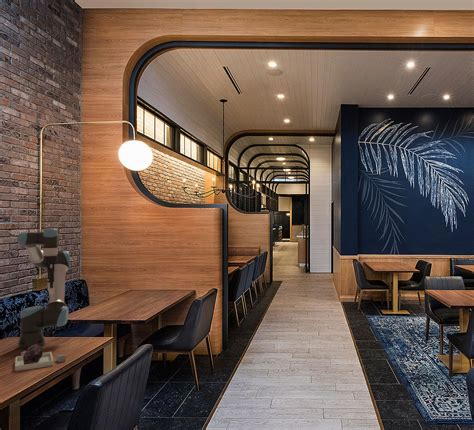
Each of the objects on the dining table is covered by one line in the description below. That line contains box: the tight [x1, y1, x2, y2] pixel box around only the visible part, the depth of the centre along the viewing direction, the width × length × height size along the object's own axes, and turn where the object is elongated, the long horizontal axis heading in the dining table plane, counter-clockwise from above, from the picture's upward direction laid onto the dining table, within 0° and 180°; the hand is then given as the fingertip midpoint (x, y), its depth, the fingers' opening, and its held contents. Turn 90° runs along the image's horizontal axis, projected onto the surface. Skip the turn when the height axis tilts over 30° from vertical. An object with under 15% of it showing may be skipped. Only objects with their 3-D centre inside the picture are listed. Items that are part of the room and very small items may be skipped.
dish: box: [14, 351, 54, 372], centre depth 220 cm, size 18×18×2 cm
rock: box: [23, 344, 44, 365], centre depth 219 cm, size 12×9×10 cm
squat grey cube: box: [55, 353, 67, 363], centre depth 224 cm, size 4×4×3 cm
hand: (50, 292), depth 239 cm, fingers open, 13 cm apart
